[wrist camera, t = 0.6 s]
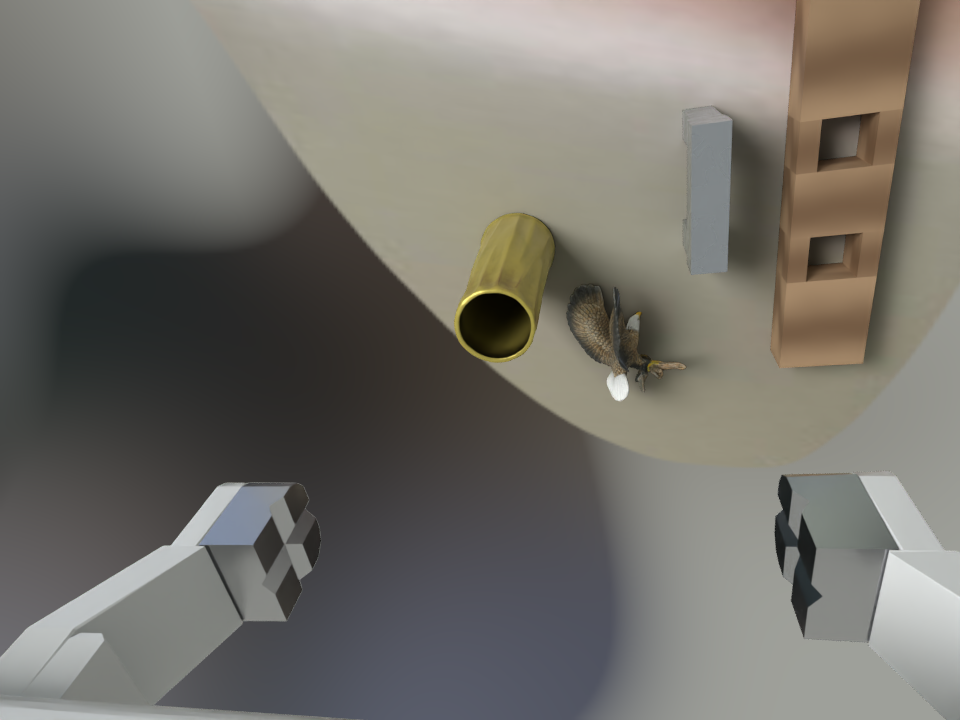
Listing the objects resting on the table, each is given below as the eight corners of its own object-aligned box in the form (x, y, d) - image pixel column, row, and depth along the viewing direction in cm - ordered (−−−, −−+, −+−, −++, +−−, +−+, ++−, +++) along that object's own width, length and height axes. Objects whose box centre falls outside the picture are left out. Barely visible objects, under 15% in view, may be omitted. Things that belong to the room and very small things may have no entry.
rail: (796, -6, 40) (811, -6, 37) (902, -24, 38) (924, -26, 36) (770, 349, 52) (779, 368, 49) (849, 344, 51) (863, 363, 48)
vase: (552, 209, 49) (539, 279, 37) (557, 281, 52) (546, 368, 40) (477, 215, 50) (439, 284, 38) (485, 285, 53) (453, 370, 41)
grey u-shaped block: (679, 110, 44) (691, 125, 39) (715, 105, 43) (732, 120, 38) (680, 244, 49) (691, 274, 43) (712, 241, 48) (727, 271, 43)
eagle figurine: (699, 327, 51) (628, 261, 47) (677, 401, 48) (600, 337, 44) (629, 343, 57) (562, 286, 53) (607, 410, 54) (533, 354, 51)
